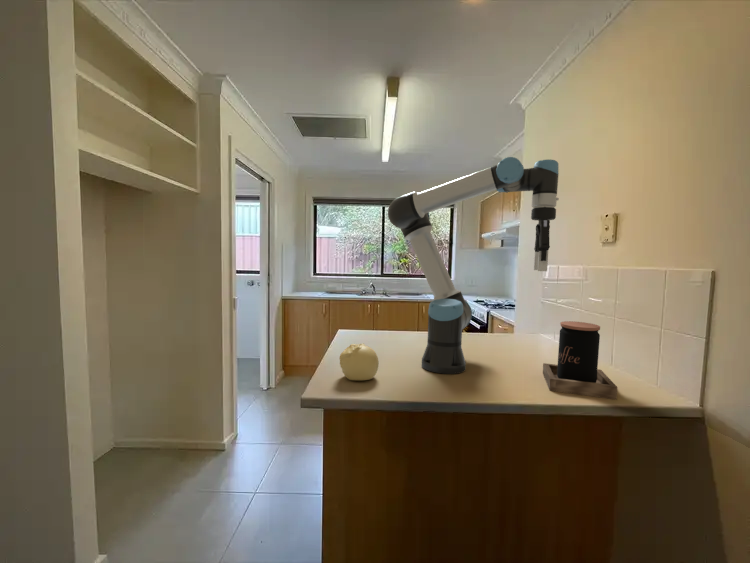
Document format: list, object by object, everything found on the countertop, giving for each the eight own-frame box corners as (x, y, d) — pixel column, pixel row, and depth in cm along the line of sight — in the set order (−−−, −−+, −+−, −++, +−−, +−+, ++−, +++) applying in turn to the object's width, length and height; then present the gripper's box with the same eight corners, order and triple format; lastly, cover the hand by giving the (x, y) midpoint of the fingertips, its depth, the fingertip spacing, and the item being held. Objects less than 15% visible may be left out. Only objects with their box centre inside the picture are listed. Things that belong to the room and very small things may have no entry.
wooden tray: (549, 390, 105) (550, 378, 105) (542, 373, 121) (543, 363, 121) (616, 399, 100) (617, 387, 100) (600, 380, 116) (600, 369, 116)
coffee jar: (549, 375, 116) (553, 320, 114) (581, 376, 116) (585, 321, 115) (569, 388, 105) (573, 327, 104) (604, 388, 106) (608, 328, 104)
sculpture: (347, 370, 119) (348, 338, 118) (382, 374, 115) (383, 341, 114) (333, 381, 108) (334, 346, 107) (371, 386, 104) (372, 350, 103)
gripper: (562, 201, 108) (558, 272, 109) (550, 212, 131) (547, 270, 133) (535, 202, 110) (531, 271, 112) (528, 212, 134) (525, 269, 135)
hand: (540, 270), depth 122 cm, fingers open, 13 cm apart
